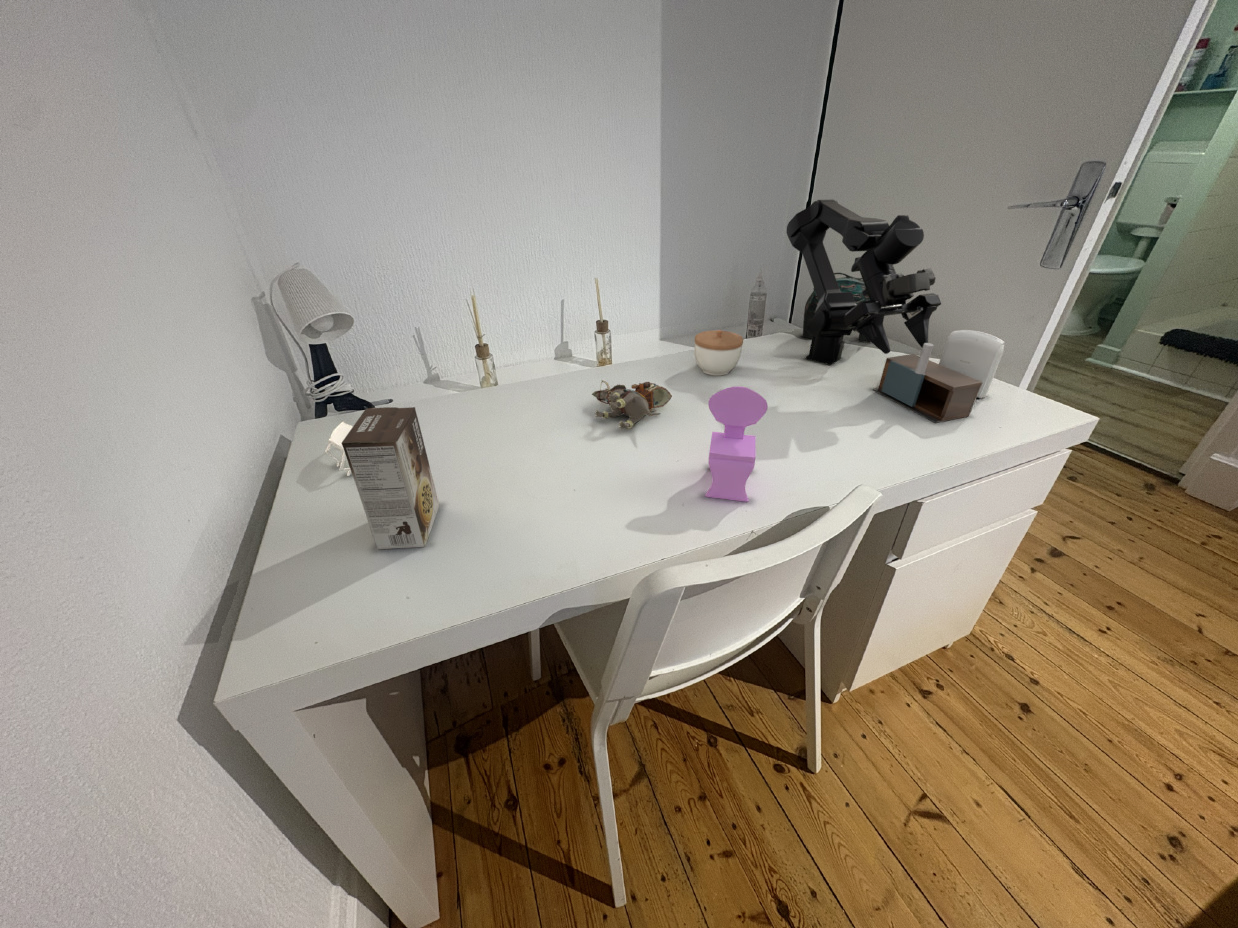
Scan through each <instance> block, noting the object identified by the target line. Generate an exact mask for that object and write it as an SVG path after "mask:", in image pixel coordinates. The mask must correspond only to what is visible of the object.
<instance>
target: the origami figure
mask: <svg viewBox="0 0 1238 928" xmlns="http://www.w3.org/2000/svg"><path fill="white" fill-rule="evenodd" d="M353 426H354V425H351V424H348V423H346V422H345V421H342V422H341V423H339V424H338V425H337V426H336V427H335V428H334V429H333V430H332V432H331V435H330V438H329V439H328V445H327V447H326V448H325V451H324V453H325V454H327V455H328V456H329V457H330V458H332V459H334V460H336V467H337V468H338V470H339V471H347V474H346V476H347V477H349V476H351V473H352V472H351V469H350V467H345V463H346V455H345V451H344V448H343V446H342V444H341V443H342V442H343V440H344V439H345V437H346V436H347V434H348V433H349V432H350V430H351V429H352V427H353ZM332 446H333V447H335V448H336V449H338V450H340V451H342V455H341V456H342V457H341V462H340V459H338V458H337V457H335V456H334V455H333V454H331V453H330V452H329V451H330V449H331V447H332Z"/></svg>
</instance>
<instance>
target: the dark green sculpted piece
mask: <svg viewBox="0 0 1238 928" xmlns="http://www.w3.org/2000/svg"><path fill="white" fill-rule="evenodd" d="M834 275H835V276H836V275H843V277H842V276H841V277H838V278H836V280H837V283H838V286H839V288H840V291H841V292H851V293H852V294H853V296H854V300H855V303H856V304H858V303H860V302H862V301H870V298H869V296H863V293H862V292H863V291H864V290H865V289H866V287H865V284H864V282H863V279H862V277H855V276H852V275H849V274H846V273H843V272H834ZM818 302H819V301H818V298H817V295H816V292H815V289H814V287H813V291H812V292H811V294H810V295H809V297H808V298H807V300H806V302H805V304H804V312H803V322H802V324H803V325H802V338H804V339H812V336H813V335H812V334H810V333H808V322H809V321H810V320H811V319H812V318H813V317H814V316H815V311H816V308H817V305H818ZM858 340H859V342H860V343H862V342H869V343H871V342H870V341H869V340H868V339H867V338H865V337H864V336H863V335H861V334H860V333H858Z"/></svg>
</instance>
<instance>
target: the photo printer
mask: <svg viewBox="0 0 1238 928" xmlns="http://www.w3.org/2000/svg"><path fill="white" fill-rule="evenodd" d="M1005 344H1006V343H1005V341H1004V340H1002V339H1001V338H999V337H997V336H995V335H993V334H990V333H986V332H983V331H978V330H971V329H970V330H969V329H961V330H953V331H951V333H949V335H948V337H947V338H946V341H945V344H944V346H943V350H942V353H941V355H940V359H939V363H938V364H939V365H942V366H944V367H947V368H949V369H952V370H954V371H957V372H959V373H961V374H964V375H966V376H969V377H971V378H974V379H976V380H979V381H981V382H982V385H981V387H980V390H979V392H978V395H977V397H976V398H978V399H982V398H986V397H987V395H988V393H989V390H990V387H991V385H992V382H993V380H994V377H995V375H996V372H997V369H998V366H999V364H1000V362H1001V359H1002V358H1003V354H1004V349H1005Z"/></svg>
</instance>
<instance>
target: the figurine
mask: <svg viewBox="0 0 1238 928" xmlns="http://www.w3.org/2000/svg"><path fill="white" fill-rule="evenodd" d="M602 383H604V384H605V386H606V387H607V388H604V389H602V386H599V390H594V392H592V393H591V396H593V397H595V398H596V400H597V401H599V402H600V403H603V404H606V405H608V406H609V407H608V408H609V409H610V411H612V412H608V411H602V412H601V411H600V410H599V409H595V410H596V411H595V412H594V414H595V418H603V419H608V418H617V417H620V416H622V415H625V416H627V417H629V418H628V419H626V421H622V420H619V422H618V426H619V427H618V428H619V429H628V430H629V429H633V425H634V424H636V423H637V422H638V421H640V420H642V419H643V418H644V417H645V416H647V417H654V416H658V415H659V416H660V415H661V412H657V408H661V407H665V406H666V405H667V404H668V403H669V402H670V400H672V397H673V395H672V394H671V391H669V390H668V389H667V388H666V387H664V386H661V385H659V384H656V383H654V382H650V381H644V382H639V383H638V384H636V383H634V384H631V386H630V387H631V389H629V388H627V387H626V384H625V385H624V384H620V383H619V384H616V385H613V386H612V387H611V386H610V384H609V382H607V381H605V380H601V381H600V385H602ZM655 408H656V409H655ZM652 411H655V412H652Z"/></svg>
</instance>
